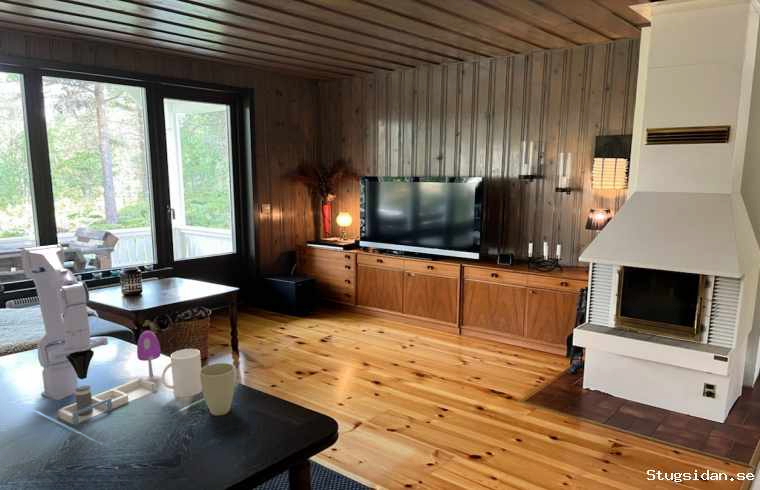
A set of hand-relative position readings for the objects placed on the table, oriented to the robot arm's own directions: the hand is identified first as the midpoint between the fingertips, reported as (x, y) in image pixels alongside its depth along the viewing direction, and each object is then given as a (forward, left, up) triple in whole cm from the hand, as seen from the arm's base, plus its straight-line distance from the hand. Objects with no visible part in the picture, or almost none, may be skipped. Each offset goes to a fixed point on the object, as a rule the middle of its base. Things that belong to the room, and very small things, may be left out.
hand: (82, 377), depth 141 cm
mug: (+12, +22, -11) cm, 27 cm away
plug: (0, 0, -10) cm, 10 cm away
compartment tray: (0, +7, -10) cm, 12 cm away
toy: (-8, +25, -11) cm, 28 cm away
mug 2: (+29, +21, -11) cm, 37 cm away
